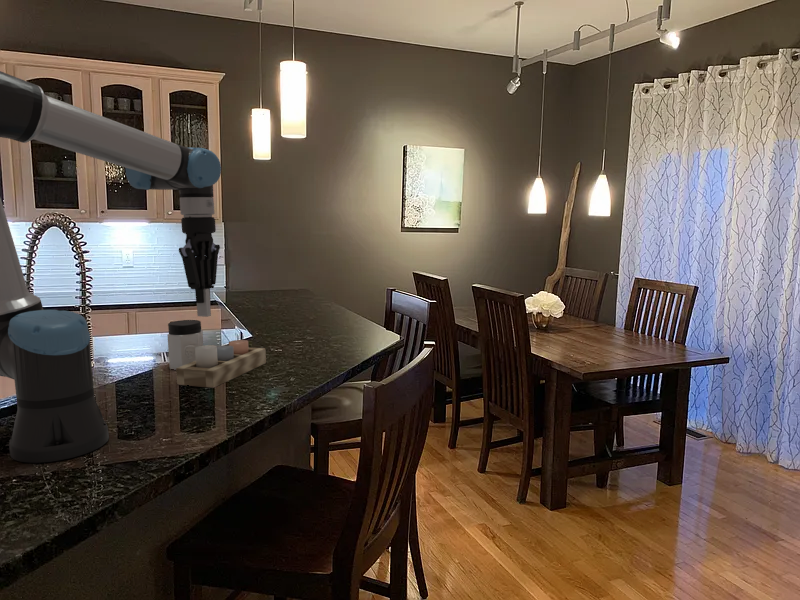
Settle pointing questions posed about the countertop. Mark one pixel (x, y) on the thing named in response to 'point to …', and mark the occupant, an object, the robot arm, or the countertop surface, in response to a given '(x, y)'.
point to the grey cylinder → (225, 353)
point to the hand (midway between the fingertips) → (204, 315)
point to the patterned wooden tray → (220, 369)
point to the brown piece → (240, 346)
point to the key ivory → (206, 356)
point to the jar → (183, 342)
